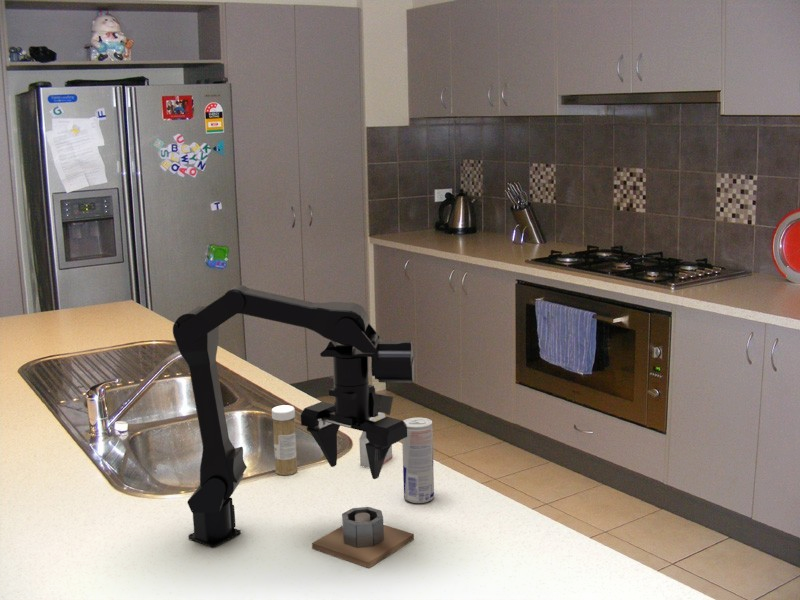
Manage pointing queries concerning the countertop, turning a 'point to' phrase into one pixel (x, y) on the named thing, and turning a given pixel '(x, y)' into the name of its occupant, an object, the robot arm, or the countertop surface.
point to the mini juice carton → (364, 440)
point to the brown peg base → (364, 555)
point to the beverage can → (418, 461)
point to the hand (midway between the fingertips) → (354, 472)
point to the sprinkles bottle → (284, 439)
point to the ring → (363, 528)
